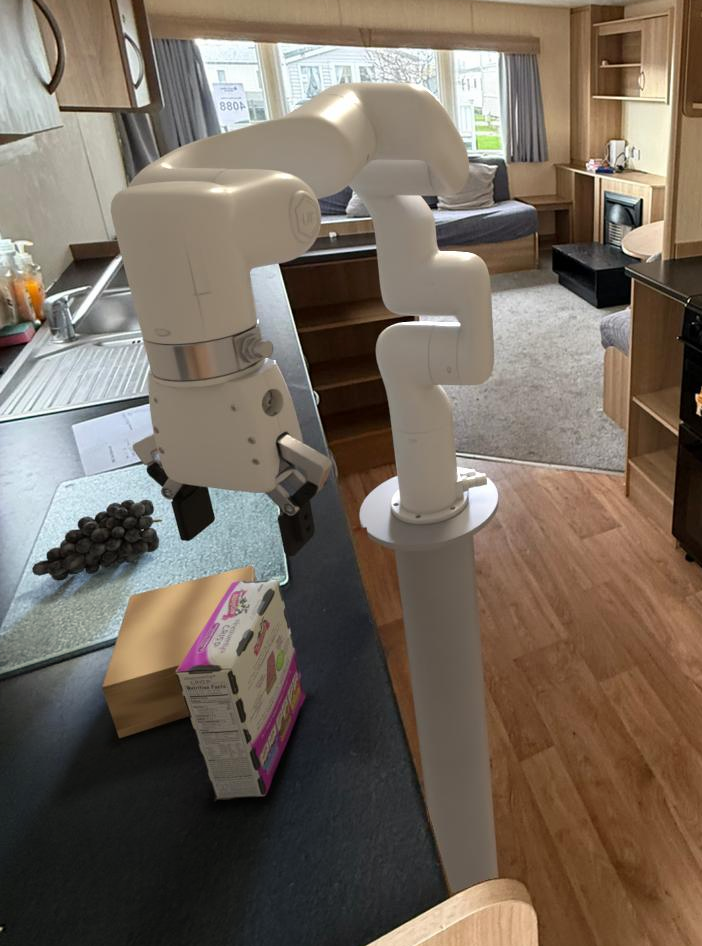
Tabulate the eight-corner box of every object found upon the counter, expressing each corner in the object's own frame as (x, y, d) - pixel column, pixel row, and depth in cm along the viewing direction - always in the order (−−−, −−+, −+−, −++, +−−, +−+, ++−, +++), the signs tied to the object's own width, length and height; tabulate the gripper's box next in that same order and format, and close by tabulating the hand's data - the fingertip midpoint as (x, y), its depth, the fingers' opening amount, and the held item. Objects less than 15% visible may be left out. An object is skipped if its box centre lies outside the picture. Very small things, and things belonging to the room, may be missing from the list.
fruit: (15, 539, 82) (154, 495, 91) (24, 526, 89) (153, 486, 98) (36, 602, 83) (172, 552, 92) (43, 585, 90) (169, 540, 99)
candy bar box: (259, 700, 71) (231, 579, 65) (306, 697, 71) (282, 576, 66) (210, 804, 61) (171, 670, 55) (266, 799, 61) (233, 667, 55)
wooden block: (263, 609, 84) (253, 564, 81) (259, 694, 72) (248, 645, 69) (144, 641, 79) (130, 595, 76) (119, 738, 67) (101, 687, 64)
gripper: (339, 341, 51) (365, 523, 57) (150, 326, 54) (194, 500, 60) (277, 379, 44) (315, 582, 50) (64, 360, 47) (123, 553, 53)
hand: (249, 538), depth 55 cm, fingers open, 9 cm apart
